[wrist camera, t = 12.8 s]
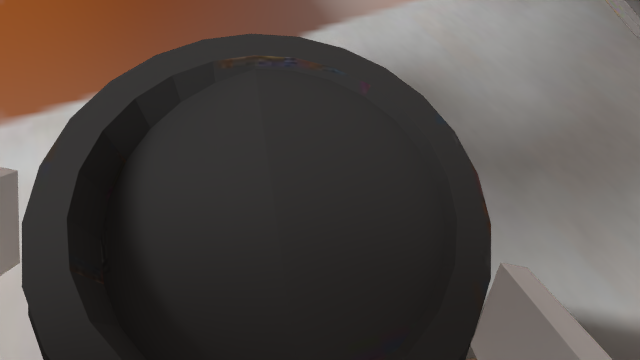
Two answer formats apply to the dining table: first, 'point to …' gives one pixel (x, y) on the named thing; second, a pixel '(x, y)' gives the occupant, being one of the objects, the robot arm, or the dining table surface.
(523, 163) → the dining table surface
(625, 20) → the network device
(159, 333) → the coffee cup
